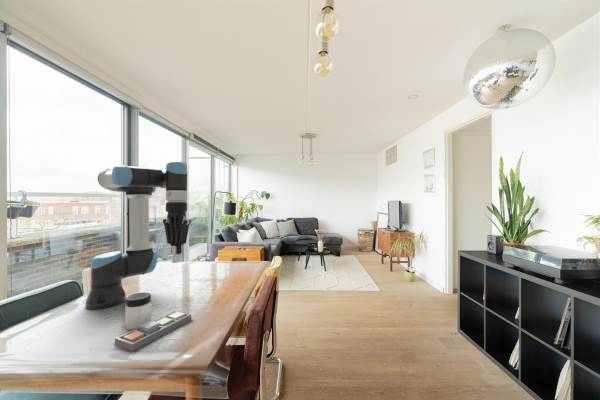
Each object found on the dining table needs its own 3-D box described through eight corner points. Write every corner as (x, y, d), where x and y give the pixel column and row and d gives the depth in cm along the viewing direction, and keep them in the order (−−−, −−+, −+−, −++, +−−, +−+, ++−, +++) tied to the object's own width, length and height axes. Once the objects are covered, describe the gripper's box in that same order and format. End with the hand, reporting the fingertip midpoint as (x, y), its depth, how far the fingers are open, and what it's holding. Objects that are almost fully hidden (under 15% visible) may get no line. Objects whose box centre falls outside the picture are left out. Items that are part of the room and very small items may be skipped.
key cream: (167, 321, 98) (167, 316, 98) (176, 316, 101) (176, 311, 101) (175, 323, 96) (175, 317, 96) (184, 318, 100) (184, 313, 100)
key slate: (139, 331, 88) (139, 325, 88) (151, 326, 91) (151, 320, 91) (147, 334, 86) (147, 328, 86) (159, 328, 90) (159, 322, 90)
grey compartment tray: (112, 348, 83) (112, 337, 83) (173, 319, 104) (173, 310, 104) (134, 356, 78) (134, 345, 78) (193, 324, 99) (193, 314, 99)
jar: (120, 334, 92) (120, 301, 92) (129, 324, 100) (129, 293, 100) (147, 331, 94) (147, 299, 94) (154, 321, 102) (155, 291, 102)
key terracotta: (123, 343, 82) (123, 336, 82) (135, 336, 86) (135, 330, 86) (131, 345, 81) (131, 339, 81) (144, 339, 85) (144, 333, 85)
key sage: (154, 327, 93) (154, 322, 93) (164, 322, 96) (164, 317, 96) (162, 330, 91) (162, 324, 91) (172, 324, 95) (172, 319, 95)
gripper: (156, 201, 98) (156, 262, 98) (180, 201, 93) (180, 266, 93) (172, 201, 105) (172, 258, 105) (196, 201, 100) (196, 261, 100)
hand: (176, 262), depth 99 cm, fingers closed
